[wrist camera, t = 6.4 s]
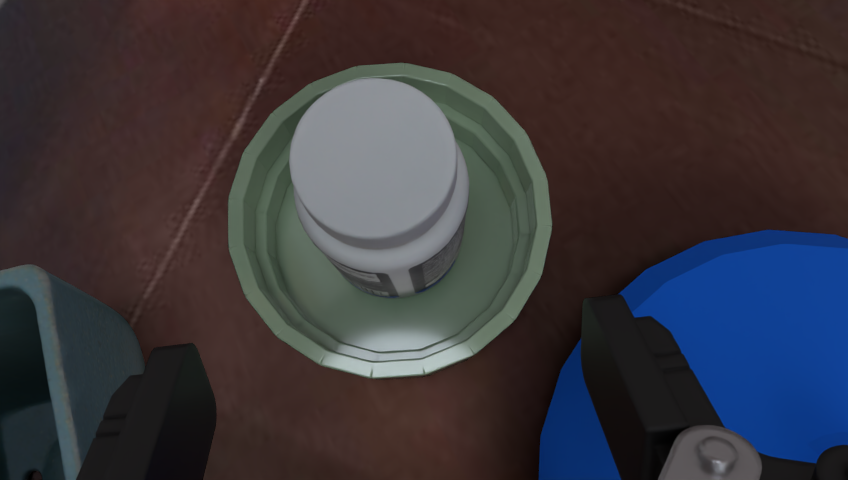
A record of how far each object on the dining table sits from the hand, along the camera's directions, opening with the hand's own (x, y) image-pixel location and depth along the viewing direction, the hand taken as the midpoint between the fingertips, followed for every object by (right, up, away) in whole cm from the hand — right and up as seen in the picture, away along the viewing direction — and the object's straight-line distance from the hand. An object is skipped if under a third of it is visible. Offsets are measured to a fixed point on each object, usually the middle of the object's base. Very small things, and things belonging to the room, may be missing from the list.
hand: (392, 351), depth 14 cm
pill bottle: (0, +2, +10) cm, 10 cm away
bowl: (0, +2, +10) cm, 11 cm away
